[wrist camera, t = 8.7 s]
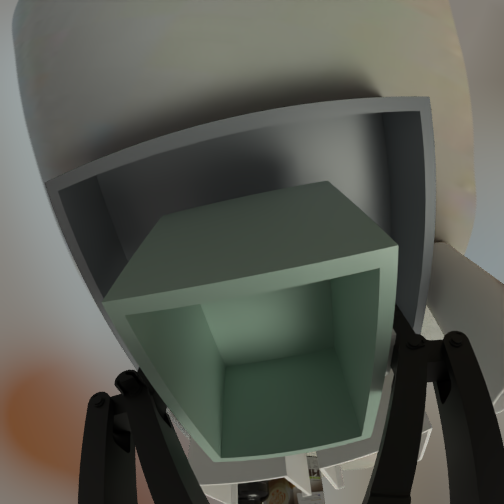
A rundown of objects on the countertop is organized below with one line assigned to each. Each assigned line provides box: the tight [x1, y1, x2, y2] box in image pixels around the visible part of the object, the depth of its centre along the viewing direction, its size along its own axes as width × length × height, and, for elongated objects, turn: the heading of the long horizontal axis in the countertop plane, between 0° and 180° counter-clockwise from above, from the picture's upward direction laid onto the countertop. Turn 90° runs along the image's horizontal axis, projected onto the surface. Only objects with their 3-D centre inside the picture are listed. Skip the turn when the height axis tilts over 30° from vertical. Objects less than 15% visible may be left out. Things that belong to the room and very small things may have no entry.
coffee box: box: [264, 456, 325, 504], centre depth 34 cm, size 9×6×16 cm
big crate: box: [45, 97, 436, 371], centre depth 20 cm, size 20×22×6 cm
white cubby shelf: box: [188, 369, 432, 504], centre depth 28 cm, size 25×11×11 cm, turn 112°
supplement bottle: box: [238, 480, 270, 504], centre depth 33 cm, size 7×7×12 cm
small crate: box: [102, 180, 398, 462], centre depth 14 cm, size 12×9×8 cm
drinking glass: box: [426, 242, 504, 414], centre depth 17 cm, size 7×7×15 cm
